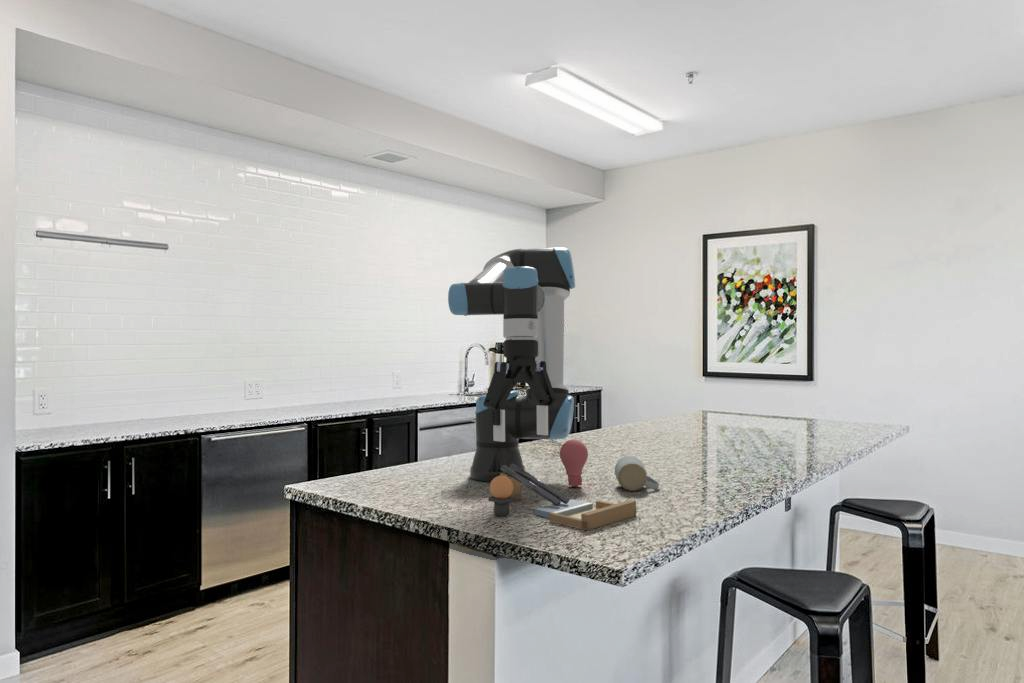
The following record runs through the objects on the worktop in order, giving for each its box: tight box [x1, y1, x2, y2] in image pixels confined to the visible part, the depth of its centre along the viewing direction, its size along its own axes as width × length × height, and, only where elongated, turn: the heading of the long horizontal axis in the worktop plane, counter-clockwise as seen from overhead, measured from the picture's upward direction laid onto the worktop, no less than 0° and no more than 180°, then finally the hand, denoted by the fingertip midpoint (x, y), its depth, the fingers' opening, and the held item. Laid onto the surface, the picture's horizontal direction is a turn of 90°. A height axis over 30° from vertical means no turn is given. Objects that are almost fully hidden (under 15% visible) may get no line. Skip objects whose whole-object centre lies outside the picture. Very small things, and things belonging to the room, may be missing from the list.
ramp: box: [500, 463, 570, 506], centre depth 152 cm, size 18×4×8 cm, turn 44°
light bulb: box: [559, 439, 589, 488], centre depth 171 cm, size 7×7×12 cm
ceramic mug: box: [614, 455, 660, 492], centre depth 168 cm, size 11×8×8 cm
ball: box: [489, 476, 513, 499], centre depth 144 cm, size 5×5×5 cm
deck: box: [534, 499, 594, 519], centre depth 146 cm, size 6×12×1 cm, turn 134°
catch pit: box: [549, 499, 637, 532], centre depth 140 cm, size 10×16×3 cm, turn 135°
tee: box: [487, 495, 515, 517], centre depth 144 cm, size 4×4×4 cm
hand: (521, 438), depth 145 cm, fingers open, 13 cm apart
